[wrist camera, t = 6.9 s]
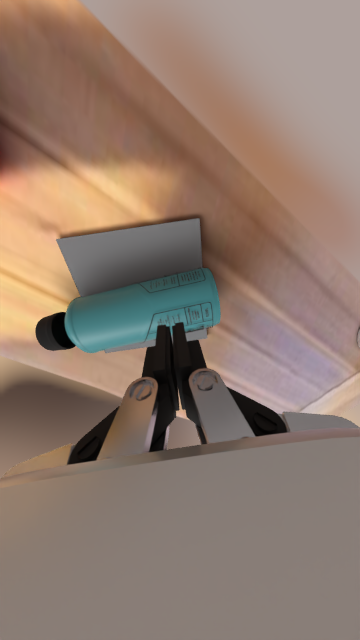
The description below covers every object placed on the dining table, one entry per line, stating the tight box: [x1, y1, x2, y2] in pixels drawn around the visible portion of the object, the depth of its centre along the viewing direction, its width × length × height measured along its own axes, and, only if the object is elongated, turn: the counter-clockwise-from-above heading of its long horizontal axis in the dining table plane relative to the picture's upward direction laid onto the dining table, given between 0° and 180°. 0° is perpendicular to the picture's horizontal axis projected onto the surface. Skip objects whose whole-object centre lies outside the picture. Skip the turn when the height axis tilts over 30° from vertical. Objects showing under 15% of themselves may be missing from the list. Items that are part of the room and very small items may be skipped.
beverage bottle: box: [36, 267, 220, 353], centre depth 18 cm, size 6×7×20 cm
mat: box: [56, 218, 207, 353], centre depth 21 cm, size 15×15×1 cm
